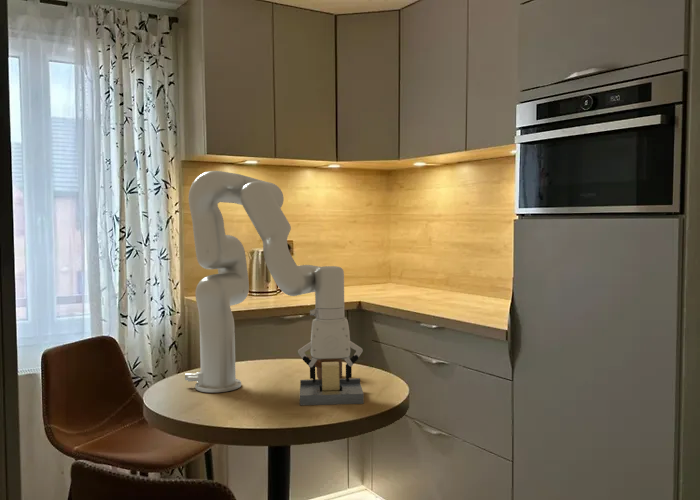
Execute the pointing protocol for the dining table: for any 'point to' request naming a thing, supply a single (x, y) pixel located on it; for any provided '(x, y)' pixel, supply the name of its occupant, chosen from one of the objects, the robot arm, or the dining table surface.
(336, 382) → the tan cardboard box
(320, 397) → the jig
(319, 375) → the mug
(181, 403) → the dining table surface
